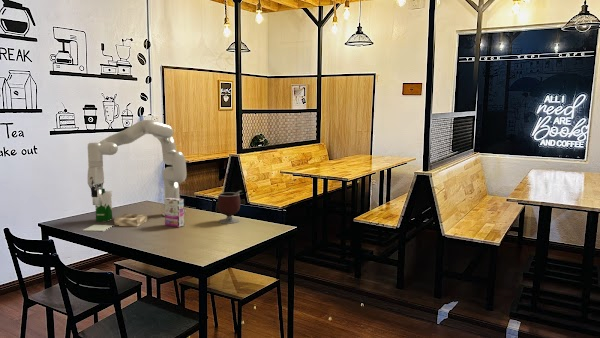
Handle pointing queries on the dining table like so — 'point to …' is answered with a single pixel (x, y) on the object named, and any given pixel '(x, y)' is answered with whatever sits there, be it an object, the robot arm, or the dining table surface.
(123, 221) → the housing block
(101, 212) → the milk carton
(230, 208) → the mate gourd
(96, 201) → the silver metal can
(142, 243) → the dining table surface
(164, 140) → the robot arm
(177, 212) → the candy bar box
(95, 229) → the rubber mat
